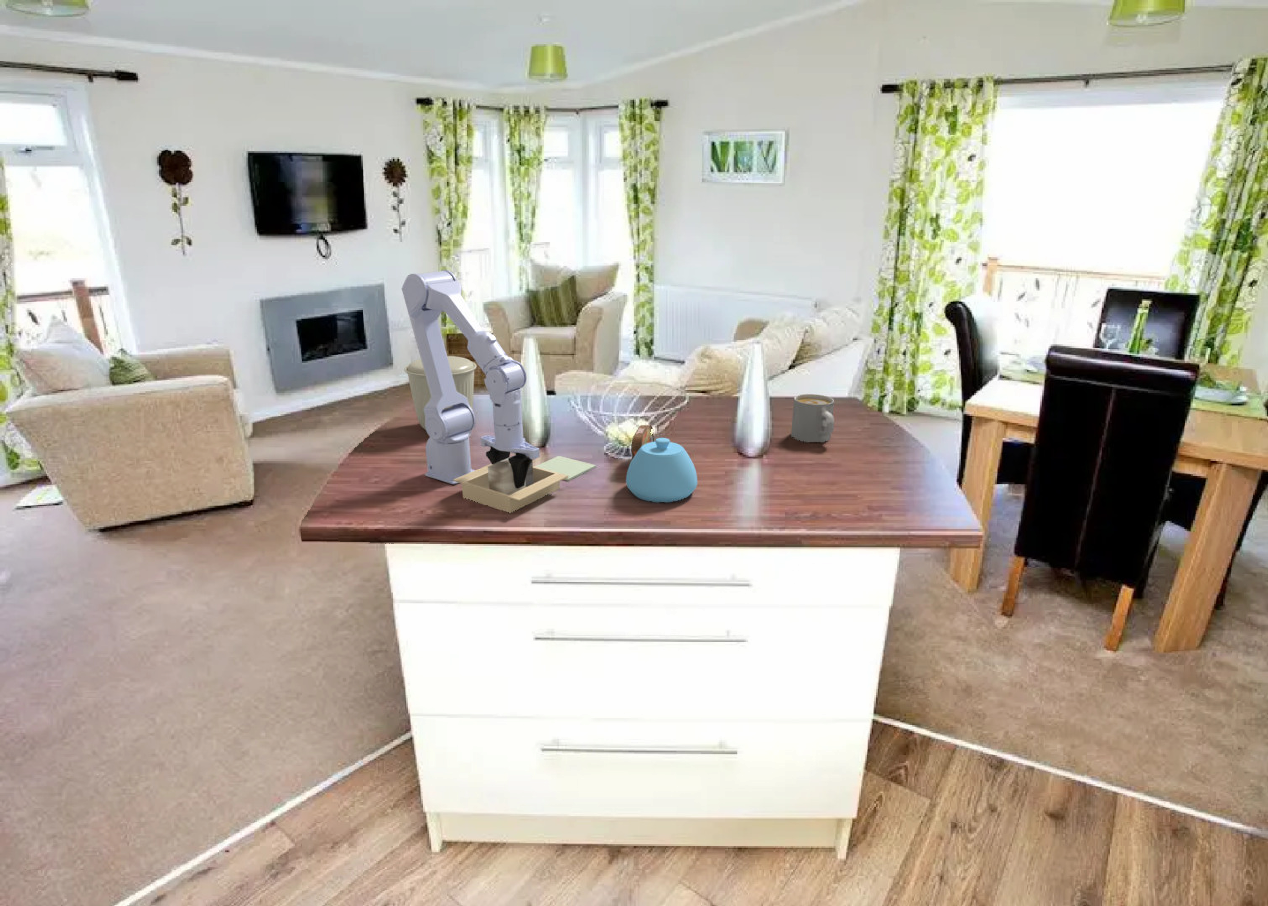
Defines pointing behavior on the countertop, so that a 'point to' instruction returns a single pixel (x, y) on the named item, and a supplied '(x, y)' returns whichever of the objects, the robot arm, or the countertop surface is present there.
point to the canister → (420, 389)
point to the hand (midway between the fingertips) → (511, 484)
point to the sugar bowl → (661, 472)
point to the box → (506, 477)
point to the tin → (641, 438)
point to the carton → (478, 491)
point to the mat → (566, 467)
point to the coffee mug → (812, 418)
